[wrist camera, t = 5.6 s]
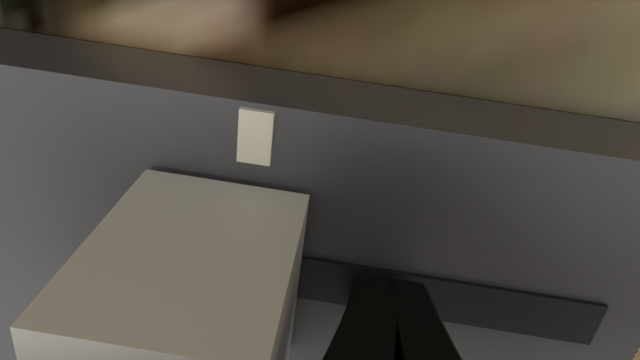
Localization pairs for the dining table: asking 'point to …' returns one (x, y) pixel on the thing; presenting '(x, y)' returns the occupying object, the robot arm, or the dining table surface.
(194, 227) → the fader knob
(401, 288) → the robot arm
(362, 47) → the dining table surface
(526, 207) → the panel
